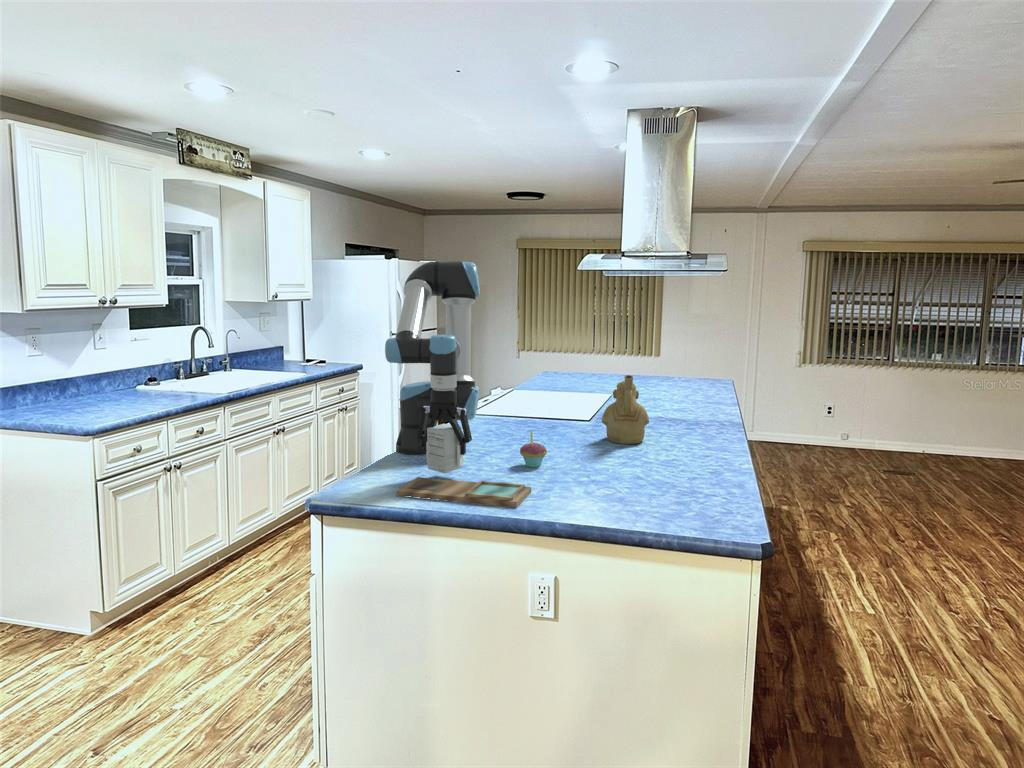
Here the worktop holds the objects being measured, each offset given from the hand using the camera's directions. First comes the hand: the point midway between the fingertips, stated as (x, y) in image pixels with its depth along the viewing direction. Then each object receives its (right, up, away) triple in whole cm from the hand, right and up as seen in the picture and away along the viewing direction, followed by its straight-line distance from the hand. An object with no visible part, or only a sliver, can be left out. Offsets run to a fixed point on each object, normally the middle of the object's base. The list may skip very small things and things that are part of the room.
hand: (444, 463), depth 209 cm
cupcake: (+26, -2, +15) cm, 30 cm away
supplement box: (0, -2, 0) cm, 2 cm away
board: (+7, -7, -15) cm, 18 cm away
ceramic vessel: (+61, +3, +49) cm, 78 cm away
